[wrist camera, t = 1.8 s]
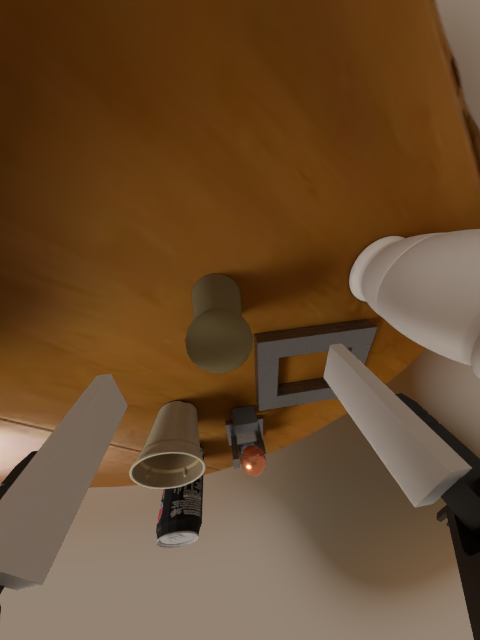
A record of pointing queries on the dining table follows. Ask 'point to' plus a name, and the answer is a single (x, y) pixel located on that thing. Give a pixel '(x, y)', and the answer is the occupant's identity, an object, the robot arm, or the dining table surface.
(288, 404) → the grey rectangular frame
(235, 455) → the grey metal bracket
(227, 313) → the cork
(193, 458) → the flower pot
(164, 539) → the beverage can
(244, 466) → the lever handle
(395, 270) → the jar
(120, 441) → the dining table surface
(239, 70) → the dining table surface
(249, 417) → the rest stop
